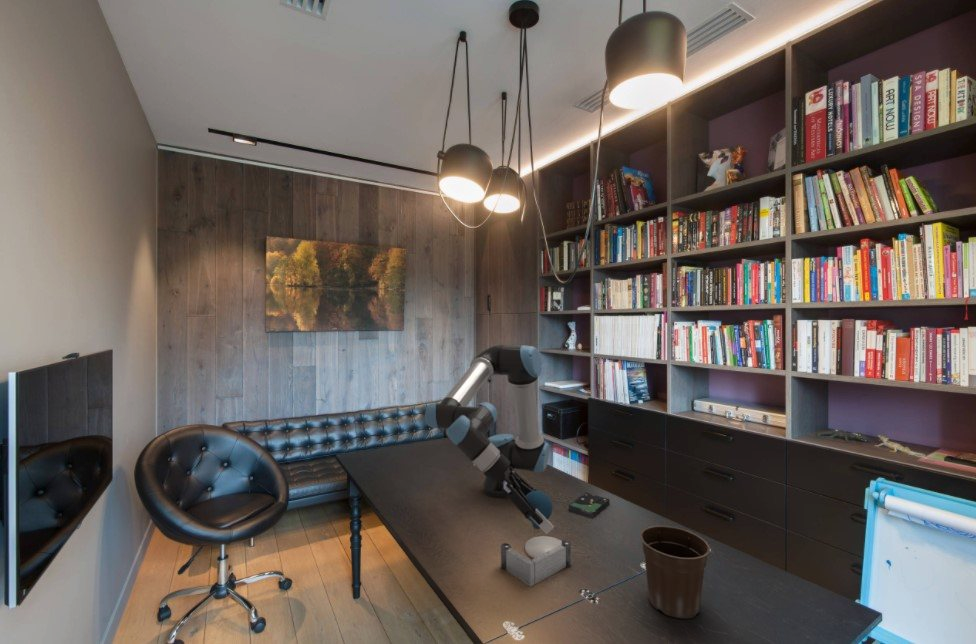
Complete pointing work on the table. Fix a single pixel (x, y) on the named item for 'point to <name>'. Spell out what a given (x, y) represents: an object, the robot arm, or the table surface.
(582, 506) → the disk drive
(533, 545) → the coaster
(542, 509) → the dark blue rounded piece
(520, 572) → the bent rail
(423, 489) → the table surface
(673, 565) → the plant pot
